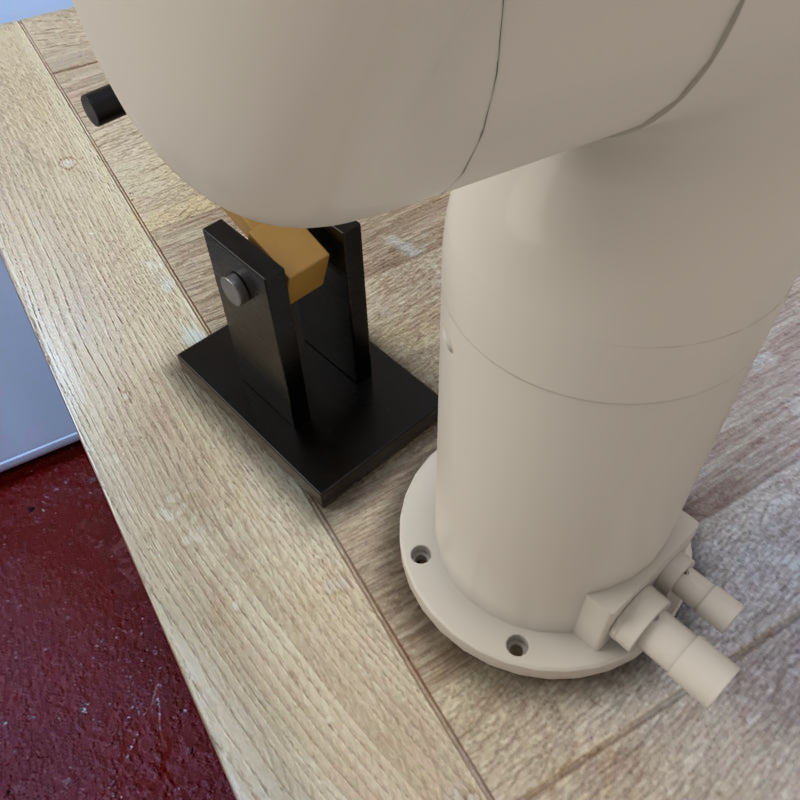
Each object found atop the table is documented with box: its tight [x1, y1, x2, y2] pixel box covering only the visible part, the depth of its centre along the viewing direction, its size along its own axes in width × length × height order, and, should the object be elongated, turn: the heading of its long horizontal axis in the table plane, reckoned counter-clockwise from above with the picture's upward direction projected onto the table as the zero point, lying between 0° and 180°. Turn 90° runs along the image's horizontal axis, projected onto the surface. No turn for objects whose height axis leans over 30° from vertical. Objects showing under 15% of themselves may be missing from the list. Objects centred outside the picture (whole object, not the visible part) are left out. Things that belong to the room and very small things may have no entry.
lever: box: [80, 83, 329, 304], centre depth 35 cm, size 13×5×2 cm, turn 43°
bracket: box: [176, 218, 438, 509], centre depth 37 cm, size 12×8×11 cm, turn 43°
